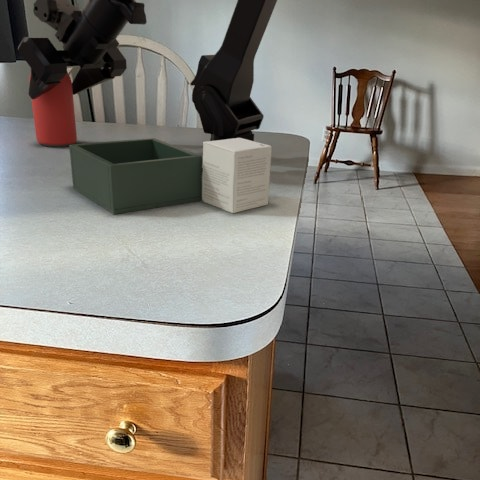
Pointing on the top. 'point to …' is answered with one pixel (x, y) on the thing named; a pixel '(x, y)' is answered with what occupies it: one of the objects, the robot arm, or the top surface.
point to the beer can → (55, 115)
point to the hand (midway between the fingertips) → (52, 94)
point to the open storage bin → (136, 174)
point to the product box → (236, 174)
